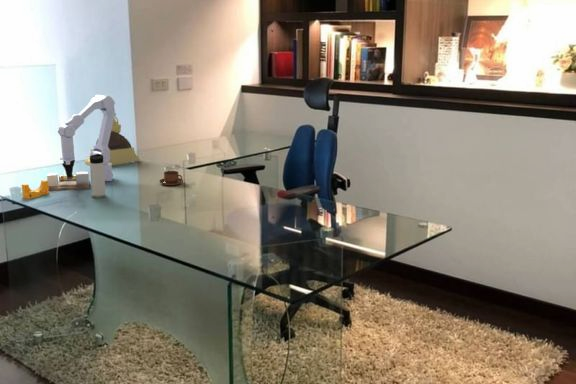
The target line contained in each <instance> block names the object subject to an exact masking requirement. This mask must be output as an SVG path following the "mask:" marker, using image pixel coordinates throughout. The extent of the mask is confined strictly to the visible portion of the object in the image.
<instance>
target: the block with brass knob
mask: <svg viewBox="0 0 576 384" xmlns="http://www.w3.org/2000/svg"><path fill="white" fill-rule="evenodd" d="M58 181H59V182H66V181H76V174H72V177H67V175H58Z"/></svg>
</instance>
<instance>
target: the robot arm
mask: <svg viewBox="0 0 576 384" xmlns="http://www.w3.org/2000/svg"><path fill="white" fill-rule="evenodd" d="M115 103H116V102H115V100H114V98H113V97H111V96H109V95H103V94H96V95H94V97H92V98H91V100H90V101H89V103H88V104H86V106H85V107H84V108H83V109H82V110H81V111H80V112H79V113H75V114H72V115H71V118H70V119H69V120H67V121H65V123H64V124H61V125H60V126H59V127H58V129H57V133H58V135H59V136H60V144H61V157H60V158H59V160H60V161H63V162H62V167H63V169H64V170H65V174H66V175H65V176H67V177H72V175H73V170H74V166H75V163H76V158H75V149H74V147H75V146H74V136H75V134H76V132H77V130H78V129H79V128H80V127H81V126H82V125H83V124H85V119H86V118H87V117H88V116H89V115H91V114H92V113H93V112H94V111H96V110H100V111H101V113H102V114H103V115H102V120H101V124H100V129H99V134H98V137H97V139H98V142H97V141H96V142H97V144H96V143H95V145H94V146H93V148H92V149H93V150H92V152H91V151H90V154H89V156H92V155H96V154H100V155H103V161H104V176H105V182H113V177H114V176H113V175H114V174H113V167H112V166H113V165H112V163H108V162H109V160H110V149H109V148H108V143H109V138H110V134H111V129H112V125H113V121H114V118H115V117H114V116H115V113H116V110H115Z"/></svg>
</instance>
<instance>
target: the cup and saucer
mask: <svg viewBox="0 0 576 384" xmlns="http://www.w3.org/2000/svg"><path fill="white" fill-rule="evenodd" d="M164 181H165V182H166V183H163V182H164ZM183 182H184V178H183V176H182V175H180V174H179V171H176V170H166V171H164V172H163V178H161V179H160V180H159V183H160V184H161V185H164V186H179V185H181V184H182V183H183Z"/></svg>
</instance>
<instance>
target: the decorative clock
mask: <svg viewBox="0 0 576 384" xmlns="http://www.w3.org/2000/svg"><path fill="white" fill-rule="evenodd" d="M116 115H117V113H116V112H115V116H114V121H113V125H112V129H111V134H110V138H109V143H108V148H109V149H110V160H109V162H108V163H112V166H116V165H124V164H123V163H125V164H129V163H128V162H132V161H139V160H140V157H138V155H137V154H136V151H135V147H133V146H132V144H131V143H130V141H129V139H127V138H126V136H124V135H122V134H121V131H122V129H121V128H122V125H121V123H120V124H119V119H118V118H117V116H116ZM97 142H98V138H97V139H96V143H95V145H96V144H97ZM92 150H93V148H90V153H91V152H92ZM139 162H140V161H139ZM132 163H133V162H132ZM84 164H85V165H88V166H89V167H90V155H89V156H88V157H87V158H86V159H85V160H84Z"/></svg>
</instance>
